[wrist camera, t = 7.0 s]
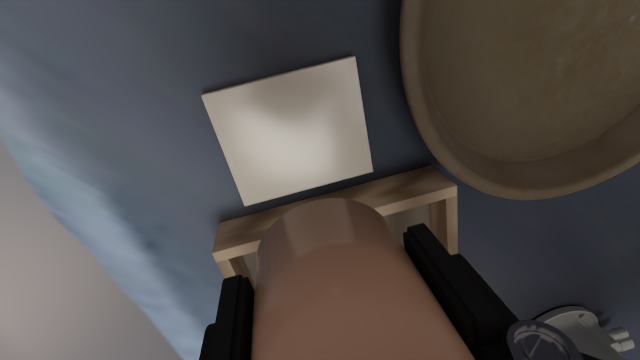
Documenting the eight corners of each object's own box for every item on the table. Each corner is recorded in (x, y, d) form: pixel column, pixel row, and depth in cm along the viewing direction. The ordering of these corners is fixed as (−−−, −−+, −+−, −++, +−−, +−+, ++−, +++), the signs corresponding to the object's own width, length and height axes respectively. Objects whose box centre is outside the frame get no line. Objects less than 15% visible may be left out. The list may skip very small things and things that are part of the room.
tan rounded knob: (396, 167, 10) (680, 459, 3) (411, 293, 13) (580, 599, 6) (218, 215, 10) (102, 648, 3) (272, 334, 13) (278, 702, 6)
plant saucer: (651, 158, 34) (704, 175, 30) (382, 204, 31) (400, 229, 27) (831, -277, 20) (975, -357, 16) (377, -266, 17) (411, -359, 13)
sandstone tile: (351, 55, 24) (355, 56, 23) (369, 167, 29) (373, 171, 28) (203, 93, 24) (201, 95, 23) (245, 200, 28) (244, 206, 27)
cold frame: (431, 165, 29) (456, 185, 25) (437, 276, 36) (458, 306, 32) (219, 222, 29) (211, 253, 25) (266, 325, 35) (266, 363, 31)
